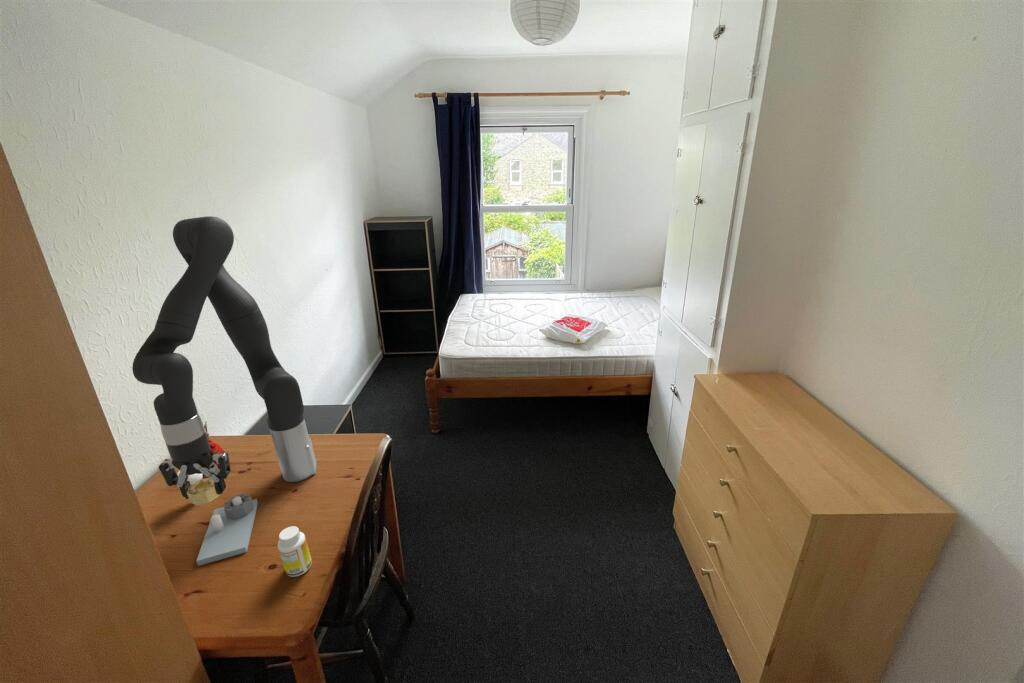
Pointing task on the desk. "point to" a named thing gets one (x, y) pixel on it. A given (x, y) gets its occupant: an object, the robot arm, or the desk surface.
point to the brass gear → (202, 492)
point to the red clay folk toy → (213, 447)
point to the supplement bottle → (294, 551)
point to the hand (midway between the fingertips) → (205, 494)
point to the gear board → (229, 530)
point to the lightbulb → (193, 478)
